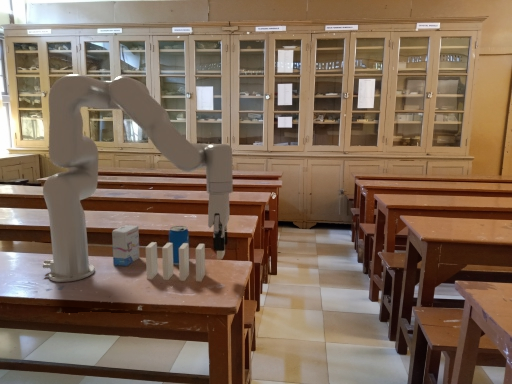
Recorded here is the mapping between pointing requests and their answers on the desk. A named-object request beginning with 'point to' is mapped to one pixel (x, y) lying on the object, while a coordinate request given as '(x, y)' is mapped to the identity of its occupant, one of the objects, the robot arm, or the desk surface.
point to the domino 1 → (151, 260)
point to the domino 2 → (167, 261)
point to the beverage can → (178, 240)
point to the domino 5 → (221, 253)
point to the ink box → (125, 245)
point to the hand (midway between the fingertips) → (220, 246)
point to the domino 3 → (184, 261)
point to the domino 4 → (200, 262)
